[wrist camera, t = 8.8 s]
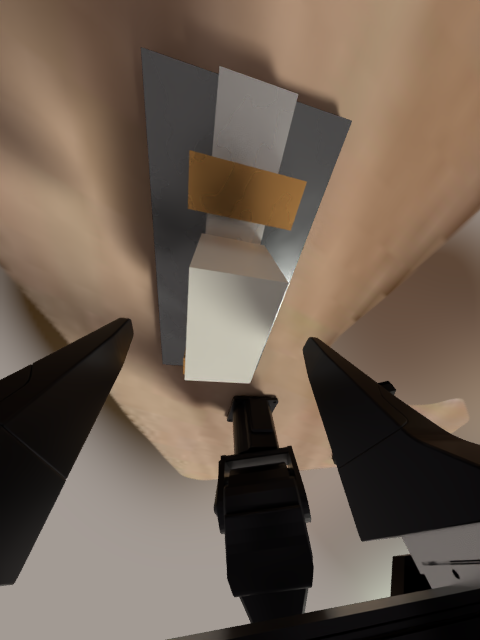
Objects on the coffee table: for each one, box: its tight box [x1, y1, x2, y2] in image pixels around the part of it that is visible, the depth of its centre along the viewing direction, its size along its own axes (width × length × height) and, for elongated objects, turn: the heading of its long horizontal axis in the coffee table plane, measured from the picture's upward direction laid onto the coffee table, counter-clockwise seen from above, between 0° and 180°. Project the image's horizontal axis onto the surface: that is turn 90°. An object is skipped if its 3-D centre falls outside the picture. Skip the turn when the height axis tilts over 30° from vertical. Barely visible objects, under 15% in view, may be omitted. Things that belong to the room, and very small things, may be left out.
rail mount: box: [141, 47, 352, 374], centre depth 13 cm, size 20×10×4 cm, turn 169°
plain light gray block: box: [185, 233, 289, 383], centre depth 12 cm, size 7×4×6 cm, turn 169°
